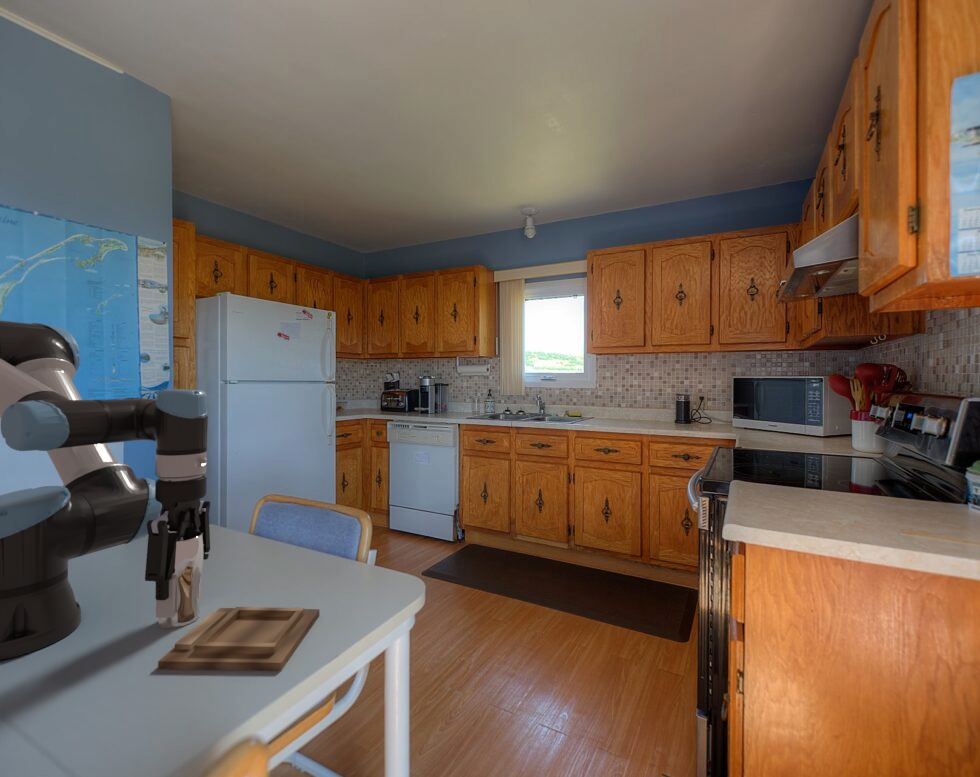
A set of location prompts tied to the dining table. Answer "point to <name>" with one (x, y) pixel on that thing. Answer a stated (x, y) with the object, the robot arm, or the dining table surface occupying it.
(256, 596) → the dining table surface
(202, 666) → the tray
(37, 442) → the robot arm
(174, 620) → the beer glass
